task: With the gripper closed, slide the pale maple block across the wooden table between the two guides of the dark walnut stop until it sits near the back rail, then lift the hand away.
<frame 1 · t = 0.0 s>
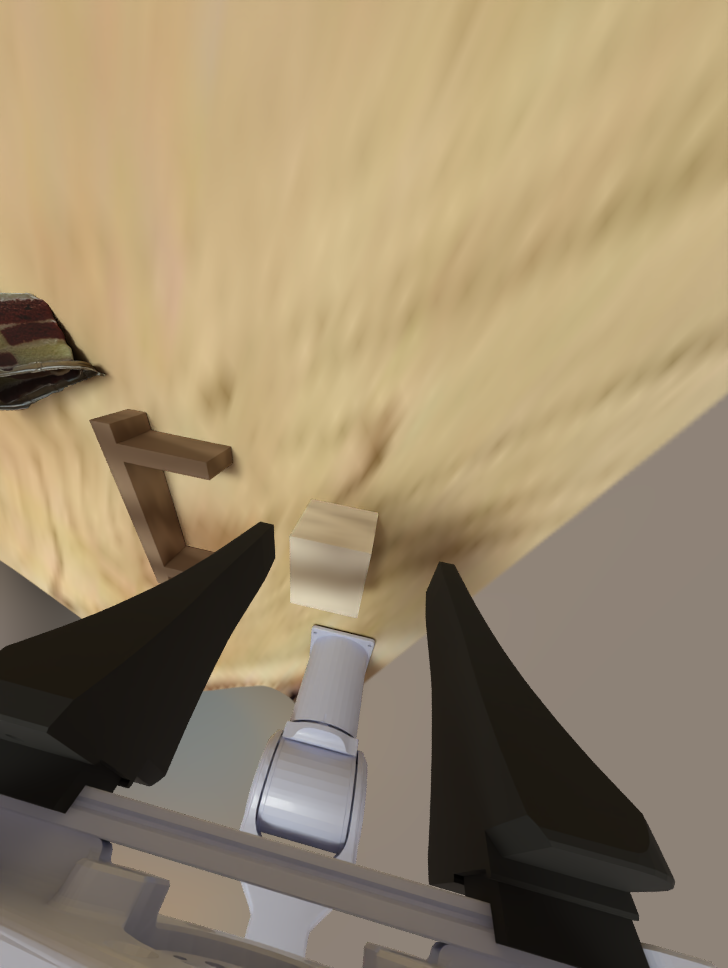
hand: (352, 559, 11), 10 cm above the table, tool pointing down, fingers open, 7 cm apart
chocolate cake: (28, 341, 20), on the table
maple block: (340, 538, 25), on the table
walnut stop: (220, 513, 25), on the table
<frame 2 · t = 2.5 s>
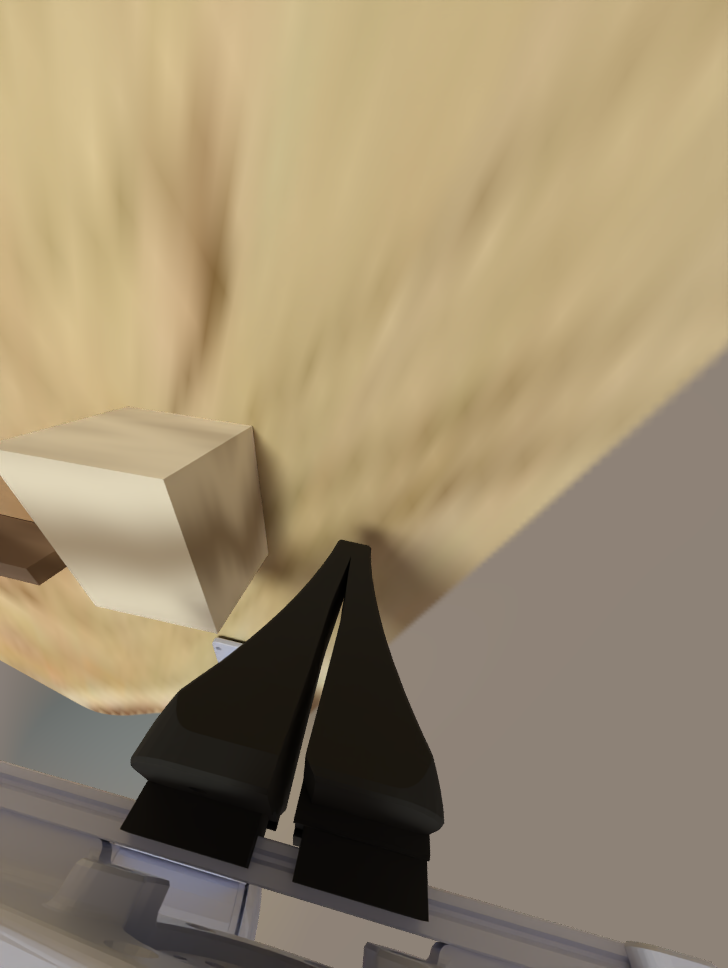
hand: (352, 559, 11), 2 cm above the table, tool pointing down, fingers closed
maple block: (209, 488, 14), on the table
walnut stop: (3, 446, 14), on the table
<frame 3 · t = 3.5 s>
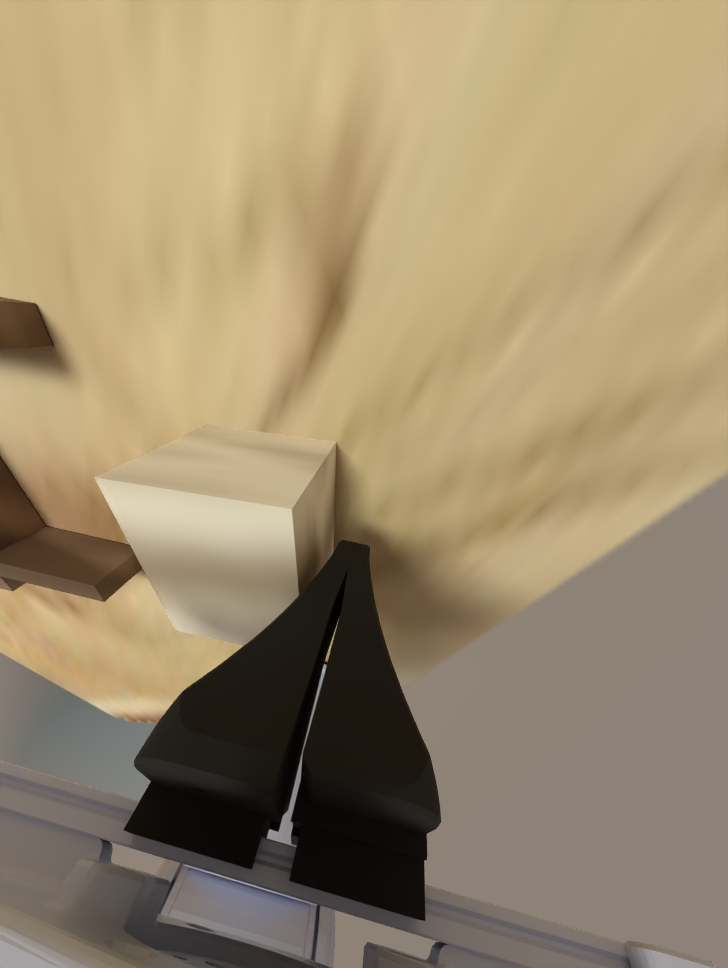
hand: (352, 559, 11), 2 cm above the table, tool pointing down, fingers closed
maple block: (278, 505, 14), on the table, touching gripper
walnut stop: (73, 462, 14), on the table
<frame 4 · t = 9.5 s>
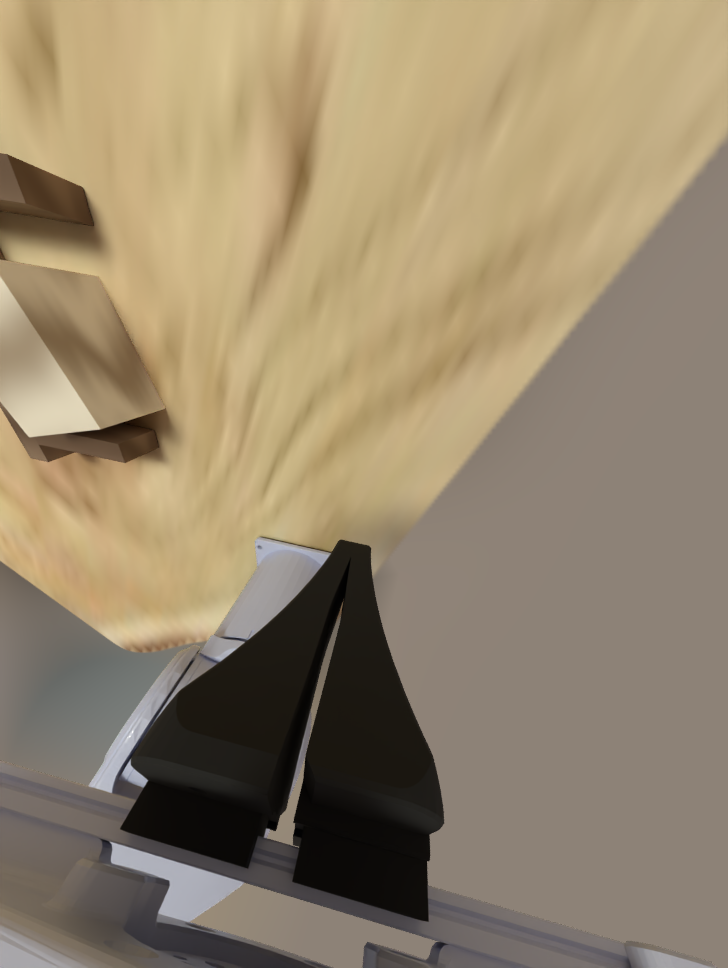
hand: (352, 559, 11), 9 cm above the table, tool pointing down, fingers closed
maple block: (104, 355, 18), on the table
walnut stop: (102, 341, 18), on the table
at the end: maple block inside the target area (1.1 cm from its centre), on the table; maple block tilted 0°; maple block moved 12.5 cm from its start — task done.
